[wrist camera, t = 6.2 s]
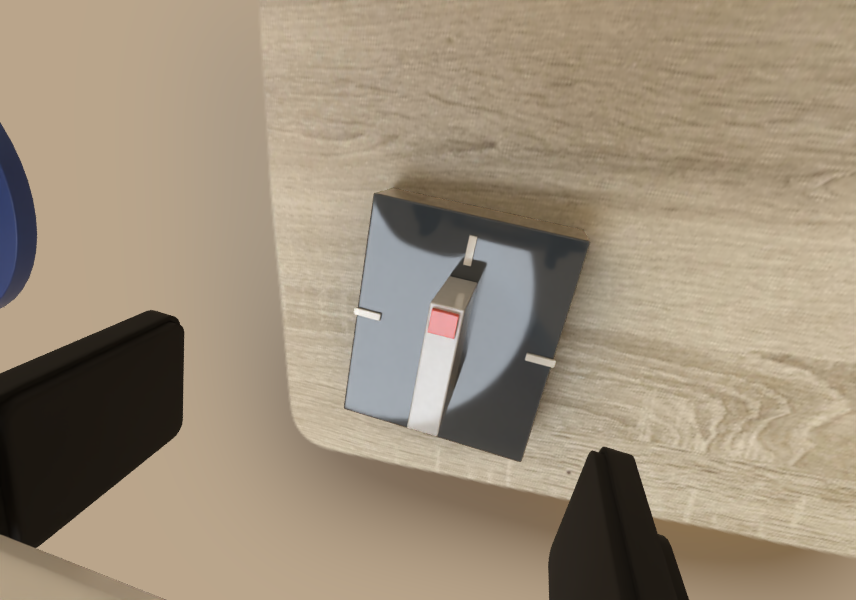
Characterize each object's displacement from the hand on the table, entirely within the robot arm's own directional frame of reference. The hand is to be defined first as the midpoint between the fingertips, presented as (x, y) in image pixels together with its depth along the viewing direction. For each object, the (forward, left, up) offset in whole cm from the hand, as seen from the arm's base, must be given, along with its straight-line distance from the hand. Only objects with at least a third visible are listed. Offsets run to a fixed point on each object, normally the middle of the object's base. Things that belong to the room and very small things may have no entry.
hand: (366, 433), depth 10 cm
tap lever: (0, -3, -13) cm, 13 cm away
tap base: (0, -3, -16) cm, 16 cm away
